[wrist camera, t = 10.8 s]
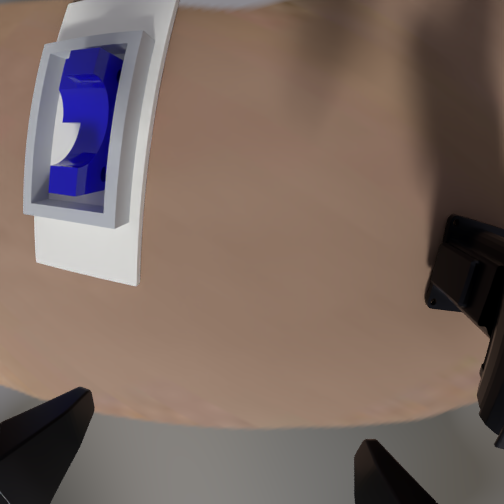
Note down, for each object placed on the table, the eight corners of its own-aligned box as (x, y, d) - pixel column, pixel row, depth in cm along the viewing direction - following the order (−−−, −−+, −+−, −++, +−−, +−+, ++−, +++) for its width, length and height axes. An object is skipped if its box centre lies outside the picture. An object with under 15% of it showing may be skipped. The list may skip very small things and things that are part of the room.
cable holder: (86, 67, 16) (51, 53, 12) (131, 65, 16) (100, 47, 12) (68, 183, 18) (30, 190, 15) (110, 188, 18) (75, 196, 15)
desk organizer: (182, -9, 15) (170, -27, 12) (139, 283, 21) (123, 298, 18) (72, 6, 15) (54, -5, 13) (40, 259, 21) (20, 270, 18)
